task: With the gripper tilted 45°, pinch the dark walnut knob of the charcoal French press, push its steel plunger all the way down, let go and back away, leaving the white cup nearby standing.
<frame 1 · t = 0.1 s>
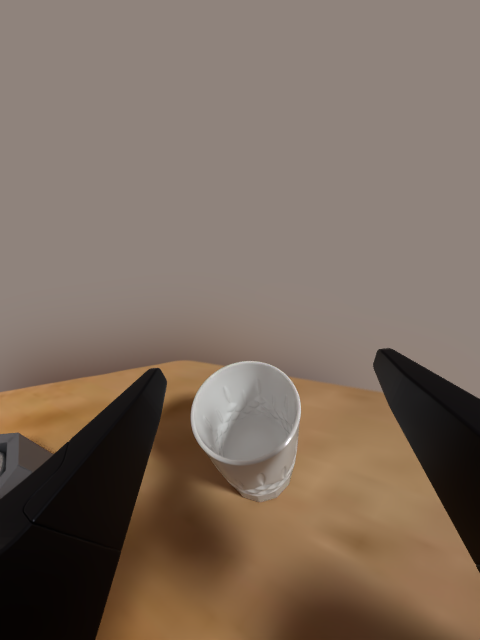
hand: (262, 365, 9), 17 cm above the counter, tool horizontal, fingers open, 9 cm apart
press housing: (20, 522, 19), on the counter
white cup: (259, 459, 21), on the counter
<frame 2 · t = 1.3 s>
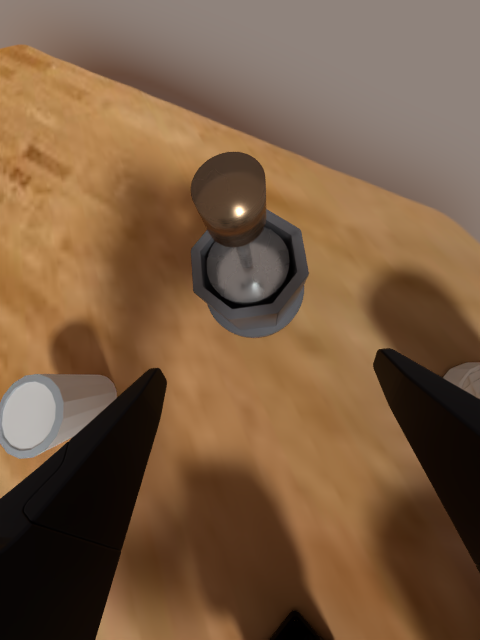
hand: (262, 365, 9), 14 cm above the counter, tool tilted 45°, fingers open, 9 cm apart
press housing: (253, 290, 24), on the counter
plunger: (240, 237, 13), point 11 cm above the counter, slide at 0.0 cm
white cup: (476, 399, 19), on the counter
shot glass: (97, 398, 24), on the counter
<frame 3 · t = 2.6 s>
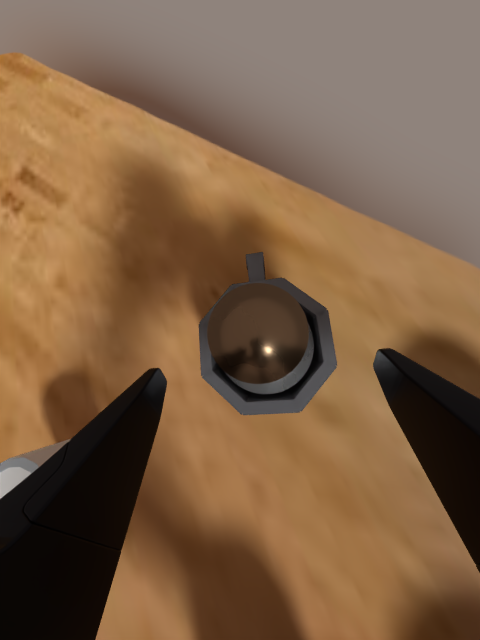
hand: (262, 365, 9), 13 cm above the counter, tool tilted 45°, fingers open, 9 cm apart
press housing: (265, 347, 21), on the counter
plunger: (261, 340, 11), point 11 cm above the counter, slide at 0.0 cm
shot glass: (91, 459, 22), on the counter
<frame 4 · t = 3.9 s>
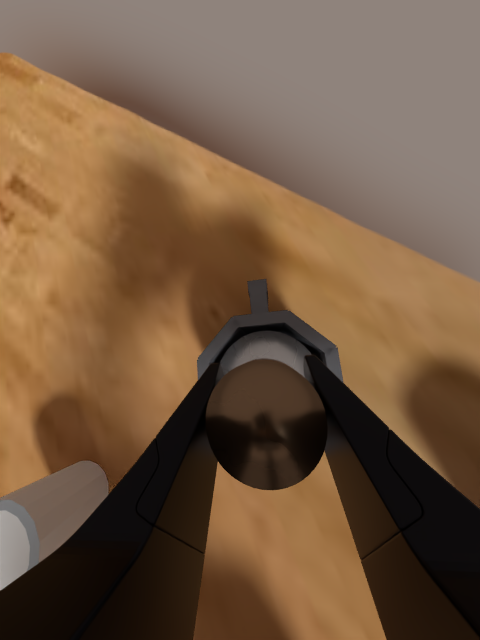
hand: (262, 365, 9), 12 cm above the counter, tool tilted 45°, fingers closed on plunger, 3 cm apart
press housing: (268, 372, 20), on the counter
plunger: (266, 393, 10), point 11 cm above the counter, slide at 0.0 cm, touching gripper
shot glass: (86, 488, 21), on the counter
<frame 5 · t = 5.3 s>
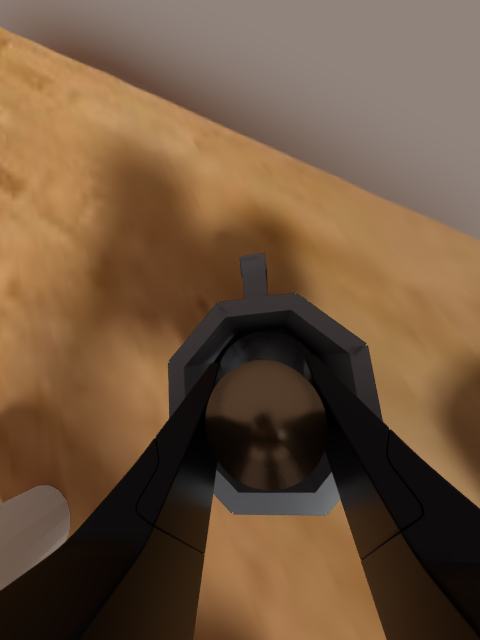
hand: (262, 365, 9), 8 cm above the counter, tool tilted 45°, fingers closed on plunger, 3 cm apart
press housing: (267, 377, 16), on the counter
plunger: (266, 393, 10), point 7 cm above the counter, slide at 4.1 cm, touching gripper
shot glass: (44, 520, 17), on the counter
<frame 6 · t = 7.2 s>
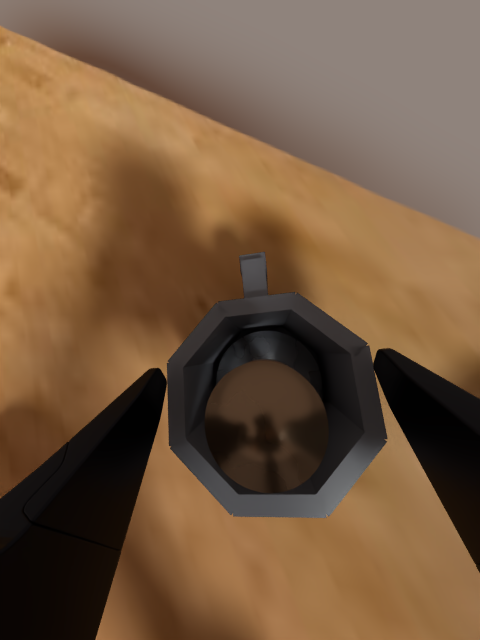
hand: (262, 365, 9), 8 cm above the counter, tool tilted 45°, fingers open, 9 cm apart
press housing: (267, 377, 16), on the counter
plunger: (266, 393, 10), point 7 cm above the counter, slide at 4.1 cm
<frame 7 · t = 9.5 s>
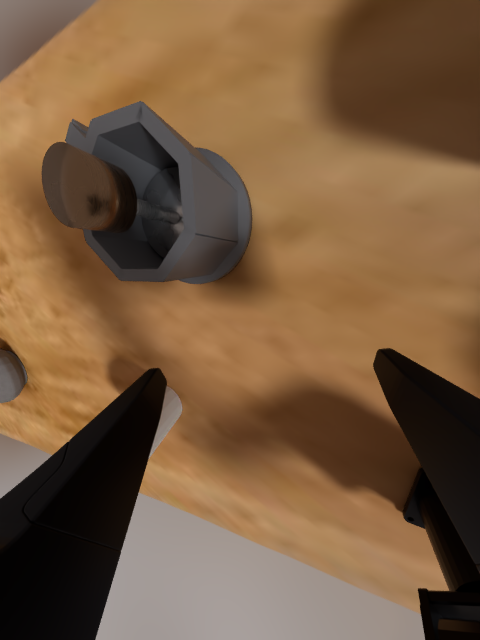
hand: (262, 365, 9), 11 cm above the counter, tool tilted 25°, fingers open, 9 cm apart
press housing: (196, 223, 19), on the counter
plunger: (138, 207, 13), point 7 cm above the counter, slide at 4.1 cm
coffee pot: (4, 364, 43), on the counter
shot glass: (166, 400, 28), on the counter
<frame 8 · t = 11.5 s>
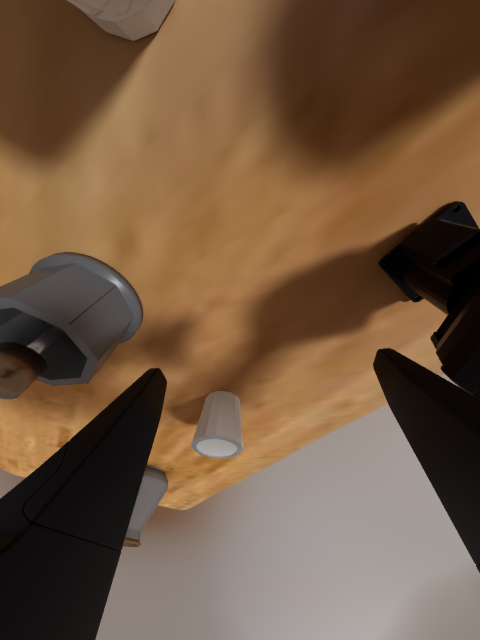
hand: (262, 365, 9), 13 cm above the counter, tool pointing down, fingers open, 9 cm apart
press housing: (92, 301, 23), on the counter
plunger: (42, 342, 17), point 7 cm above the counter, slide at 4.1 cm
coffee pot: (143, 474, 55), on the counter
shot glass: (222, 400, 33), on the counter
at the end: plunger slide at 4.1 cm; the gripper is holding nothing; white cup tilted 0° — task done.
